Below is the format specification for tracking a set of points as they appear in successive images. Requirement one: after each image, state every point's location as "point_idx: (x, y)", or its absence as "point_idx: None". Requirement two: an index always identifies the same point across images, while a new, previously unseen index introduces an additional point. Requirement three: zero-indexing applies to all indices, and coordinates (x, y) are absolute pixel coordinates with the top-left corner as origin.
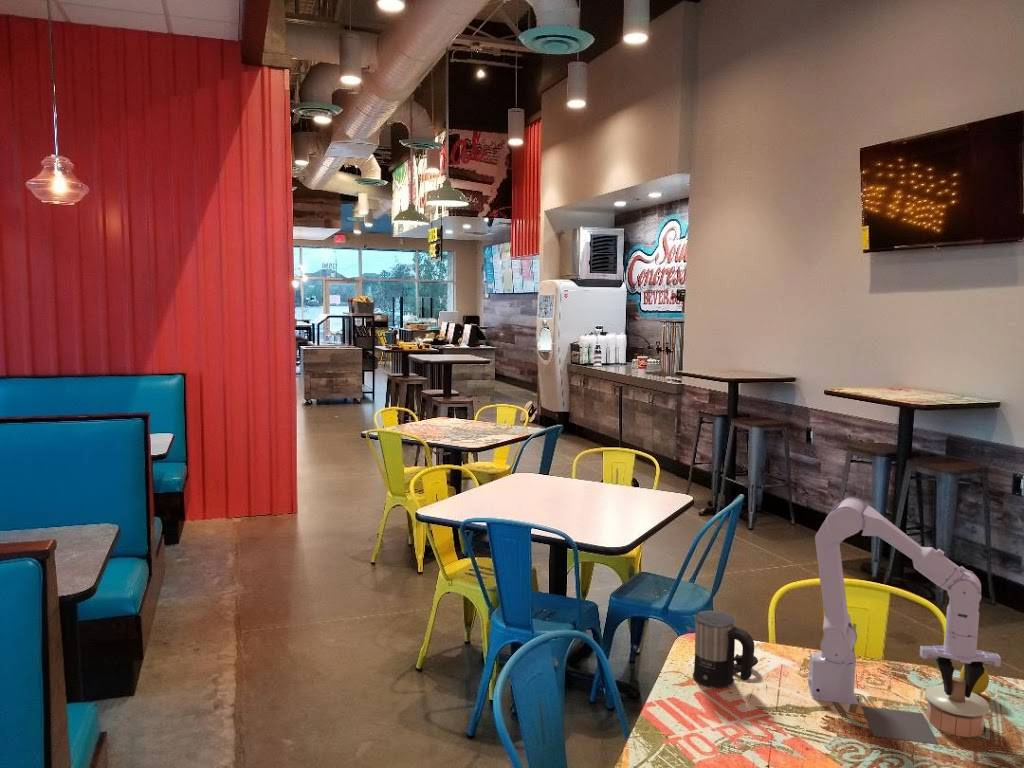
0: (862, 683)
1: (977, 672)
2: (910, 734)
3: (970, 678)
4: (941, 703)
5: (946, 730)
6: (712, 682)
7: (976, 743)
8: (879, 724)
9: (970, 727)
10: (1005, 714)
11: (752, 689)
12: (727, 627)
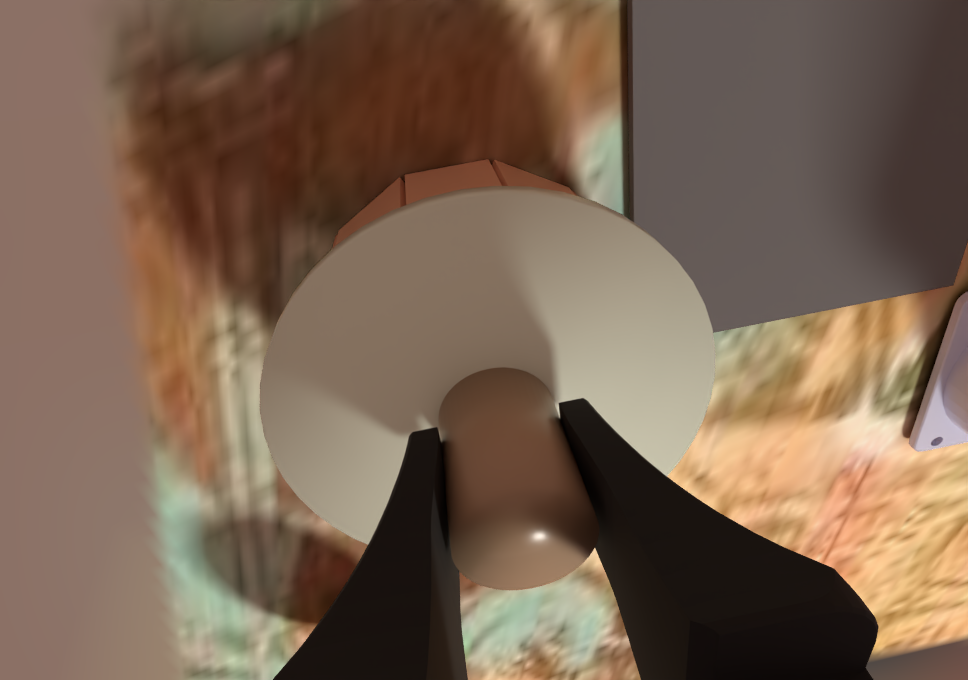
0: (828, 505)
1: (351, 671)
2: (795, 28)
3: (429, 572)
4: (632, 295)
5: (544, 182)
6: None
7: (362, 128)
8: (955, 88)
9: (402, 203)
10: (211, 524)
11: None
12: None
